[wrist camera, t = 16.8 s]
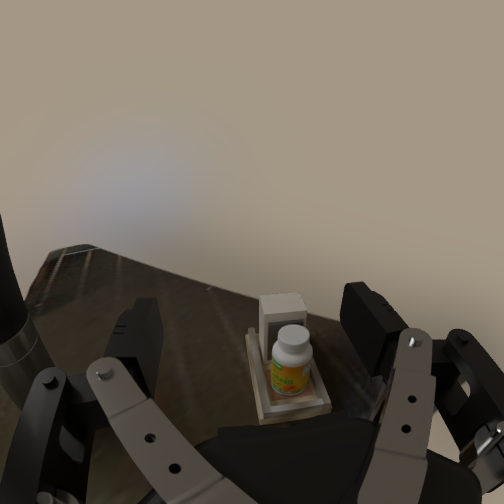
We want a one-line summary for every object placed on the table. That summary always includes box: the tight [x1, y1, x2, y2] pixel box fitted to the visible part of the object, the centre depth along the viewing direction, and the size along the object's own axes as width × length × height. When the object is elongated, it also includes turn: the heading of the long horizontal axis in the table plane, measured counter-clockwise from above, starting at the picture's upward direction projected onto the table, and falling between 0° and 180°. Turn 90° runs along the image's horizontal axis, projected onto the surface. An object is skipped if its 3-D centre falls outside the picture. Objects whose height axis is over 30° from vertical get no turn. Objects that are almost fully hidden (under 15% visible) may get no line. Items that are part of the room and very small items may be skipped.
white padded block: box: [259, 292, 307, 365], centre depth 43 cm, size 6×5×10 cm
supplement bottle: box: [271, 325, 313, 396], centre depth 37 cm, size 5×5×10 cm
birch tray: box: [246, 328, 332, 425], centre depth 42 cm, size 10×18×3 cm, turn 7°
